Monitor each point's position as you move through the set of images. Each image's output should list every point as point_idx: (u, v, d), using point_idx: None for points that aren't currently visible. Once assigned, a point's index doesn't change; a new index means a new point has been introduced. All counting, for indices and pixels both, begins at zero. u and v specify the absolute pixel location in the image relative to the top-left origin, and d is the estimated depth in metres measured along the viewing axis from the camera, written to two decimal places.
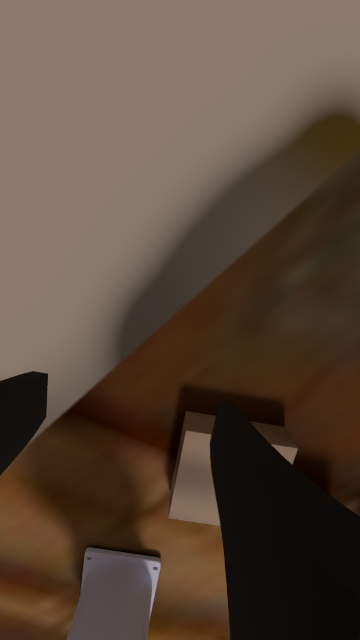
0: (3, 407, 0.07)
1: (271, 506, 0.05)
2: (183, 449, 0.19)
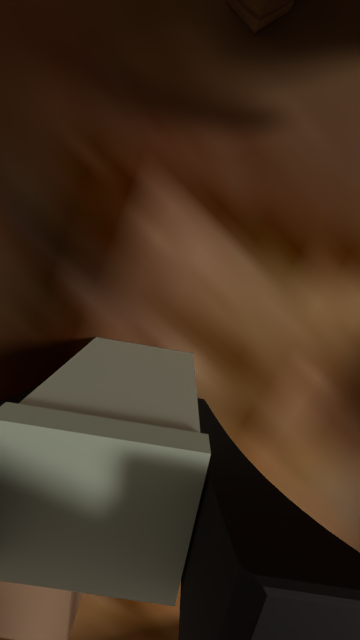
0: None
1: (211, 497, 0.05)
2: None
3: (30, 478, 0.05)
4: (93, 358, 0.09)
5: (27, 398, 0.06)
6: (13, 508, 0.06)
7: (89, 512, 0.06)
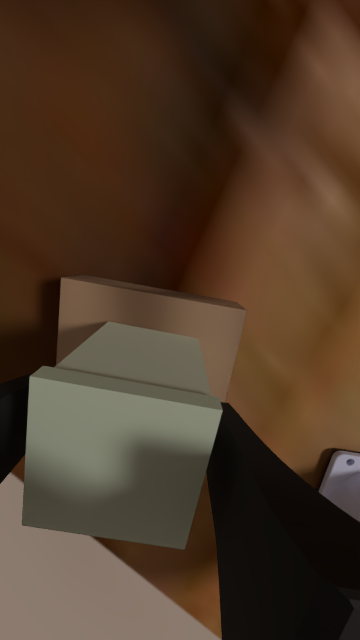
0: (10, 408, 0.07)
1: (261, 504, 0.05)
2: None
3: (65, 431, 0.06)
4: (109, 337, 0.10)
5: (58, 365, 0.07)
6: (48, 459, 0.06)
7: (115, 462, 0.06)
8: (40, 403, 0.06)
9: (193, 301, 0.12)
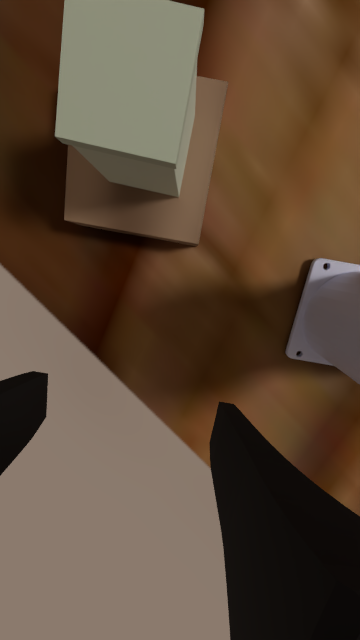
0: (3, 407, 0.07)
1: (271, 506, 0.05)
2: (90, 223, 0.16)
3: (89, 33, 0.09)
4: None
5: None
6: (76, 63, 0.09)
7: (124, 66, 0.09)
8: (72, 3, 0.08)
9: None
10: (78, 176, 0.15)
